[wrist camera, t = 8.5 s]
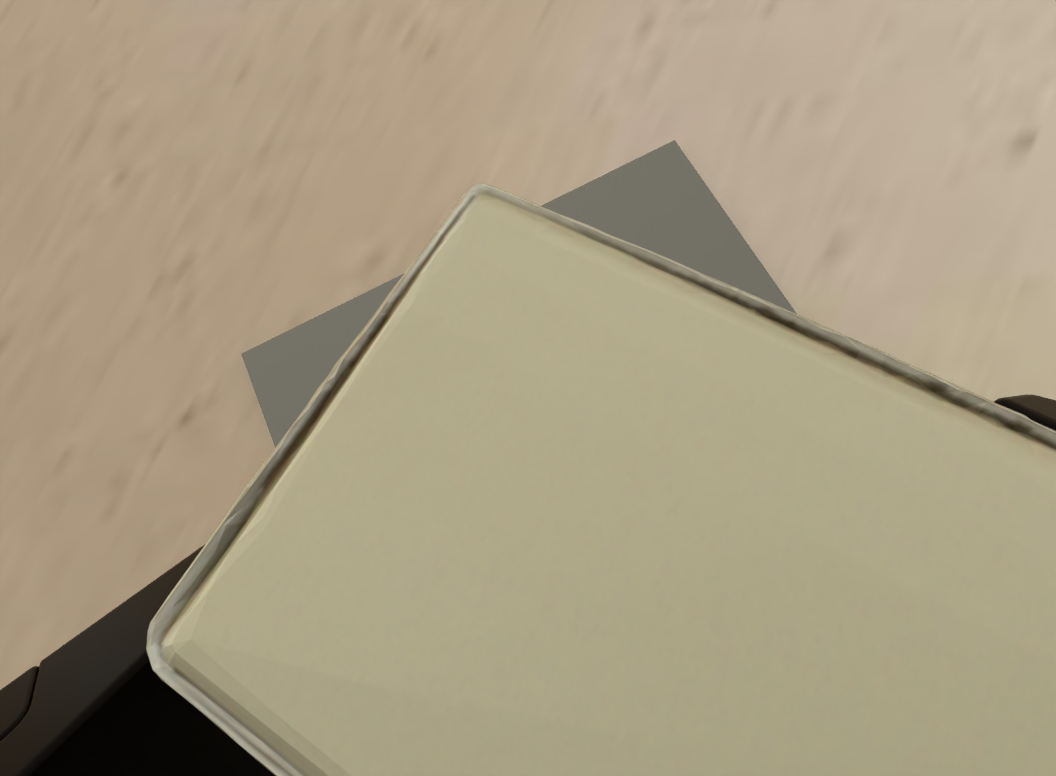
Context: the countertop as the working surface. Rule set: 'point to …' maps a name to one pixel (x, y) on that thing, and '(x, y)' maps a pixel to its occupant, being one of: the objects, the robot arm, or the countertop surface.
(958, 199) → the countertop surface
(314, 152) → the countertop surface
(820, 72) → the countertop surface
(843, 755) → the skincare box
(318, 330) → the slate mat
